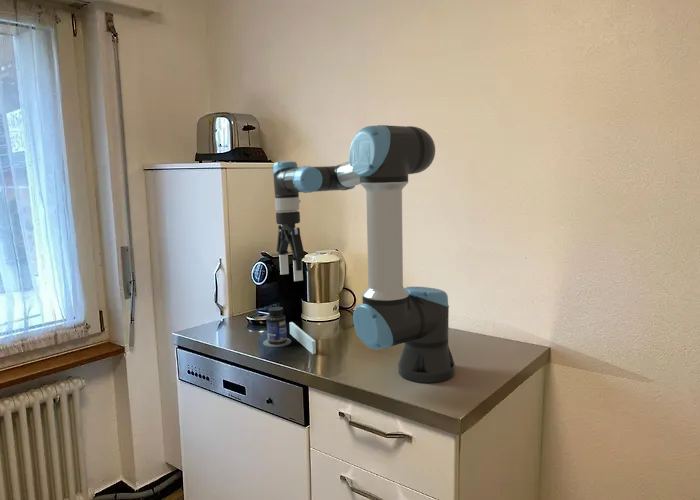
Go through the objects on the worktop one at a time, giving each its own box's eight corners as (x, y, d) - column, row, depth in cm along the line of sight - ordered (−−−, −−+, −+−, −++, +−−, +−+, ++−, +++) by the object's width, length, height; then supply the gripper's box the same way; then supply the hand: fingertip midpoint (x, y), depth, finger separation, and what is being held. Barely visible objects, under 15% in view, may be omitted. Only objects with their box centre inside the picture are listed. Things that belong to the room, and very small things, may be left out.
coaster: (294, 344, 171) (294, 343, 171) (267, 348, 167) (267, 348, 167) (286, 336, 179) (286, 335, 179) (260, 340, 175) (259, 339, 175)
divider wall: (315, 353, 162) (315, 341, 161) (312, 354, 161) (312, 341, 161) (292, 333, 182) (292, 322, 182) (289, 333, 182) (289, 322, 181)
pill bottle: (283, 345, 169) (281, 311, 168) (265, 344, 171) (263, 310, 169) (289, 339, 175) (287, 306, 174) (271, 338, 177) (269, 305, 175)
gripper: (313, 212, 159) (316, 282, 162) (286, 208, 182) (289, 270, 185) (289, 213, 156) (293, 285, 159) (264, 210, 179) (268, 272, 182)
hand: (291, 277), depth 172 cm, fingers open, 13 cm apart
